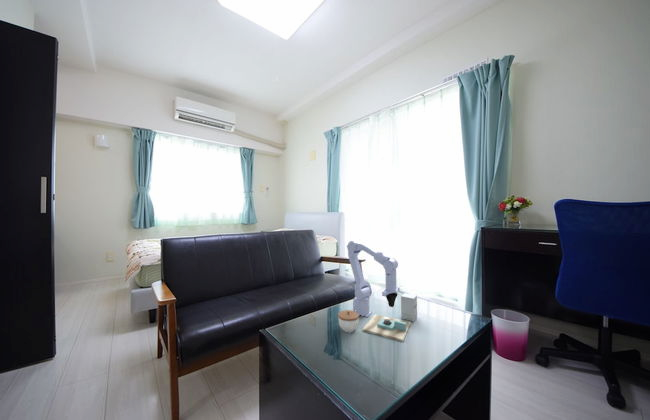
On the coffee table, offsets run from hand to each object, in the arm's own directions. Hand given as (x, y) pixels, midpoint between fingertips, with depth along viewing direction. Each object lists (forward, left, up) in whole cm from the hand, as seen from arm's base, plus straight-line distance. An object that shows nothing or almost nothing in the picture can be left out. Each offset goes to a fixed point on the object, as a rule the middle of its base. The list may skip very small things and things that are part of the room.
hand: (391, 306), depth 122 cm
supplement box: (+7, +13, -10) cm, 18 cm away
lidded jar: (-18, -17, -10) cm, 27 cm away
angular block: (+2, -5, -8) cm, 10 cm away
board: (-1, -5, -9) cm, 11 cm away
